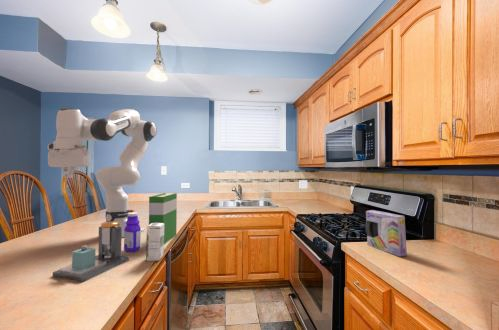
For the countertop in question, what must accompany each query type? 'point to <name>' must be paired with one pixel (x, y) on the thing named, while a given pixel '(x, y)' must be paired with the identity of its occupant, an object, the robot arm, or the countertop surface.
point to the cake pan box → (386, 232)
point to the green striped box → (164, 213)
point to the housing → (83, 257)
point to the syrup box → (155, 242)
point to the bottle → (132, 233)
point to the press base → (97, 260)
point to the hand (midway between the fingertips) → (68, 177)
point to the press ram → (108, 233)
